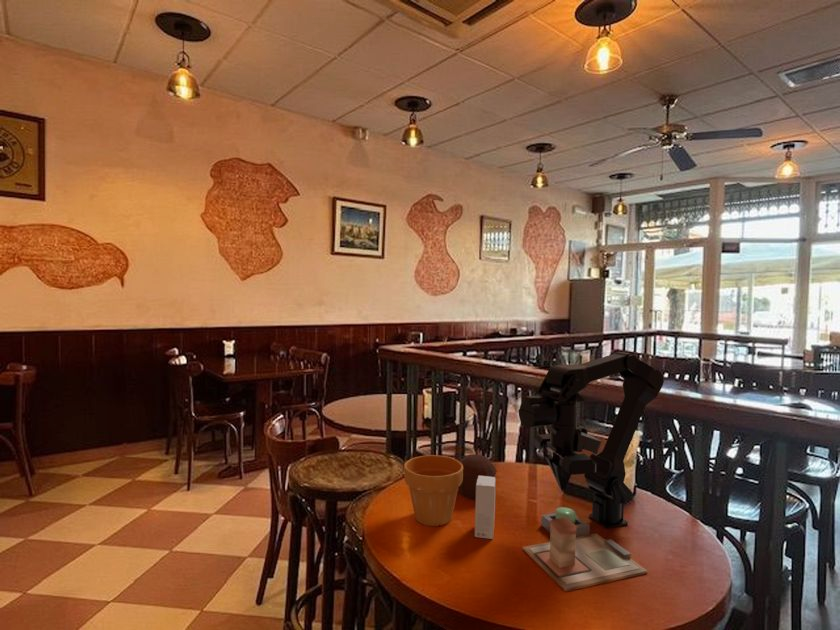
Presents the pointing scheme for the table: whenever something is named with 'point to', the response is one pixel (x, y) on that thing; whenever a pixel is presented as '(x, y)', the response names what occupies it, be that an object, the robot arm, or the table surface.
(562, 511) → the button
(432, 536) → the table surface
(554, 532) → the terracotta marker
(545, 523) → the button collar
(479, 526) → the skincare box
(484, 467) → the muffin
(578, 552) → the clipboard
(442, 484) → the flower pot
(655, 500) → the table surface
